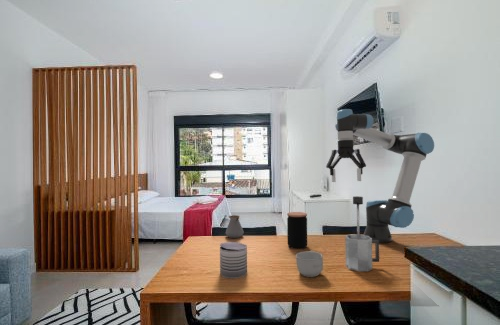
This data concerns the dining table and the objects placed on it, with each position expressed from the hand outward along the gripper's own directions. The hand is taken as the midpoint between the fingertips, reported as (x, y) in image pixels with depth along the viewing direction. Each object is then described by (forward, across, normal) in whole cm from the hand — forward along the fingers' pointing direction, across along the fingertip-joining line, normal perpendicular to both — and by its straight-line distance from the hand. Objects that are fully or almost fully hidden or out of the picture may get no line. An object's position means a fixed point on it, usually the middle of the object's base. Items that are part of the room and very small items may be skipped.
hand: (346, 181), depth 143 cm
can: (+35, +60, +20) cm, 72 cm away
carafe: (+36, +4, +21) cm, 42 cm away
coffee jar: (+36, +23, -12) cm, 44 cm away
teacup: (+36, +28, +24) cm, 51 cm away
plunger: (+25, +5, +21) cm, 33 cm away
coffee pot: (+35, +56, -34) cm, 74 cm away
